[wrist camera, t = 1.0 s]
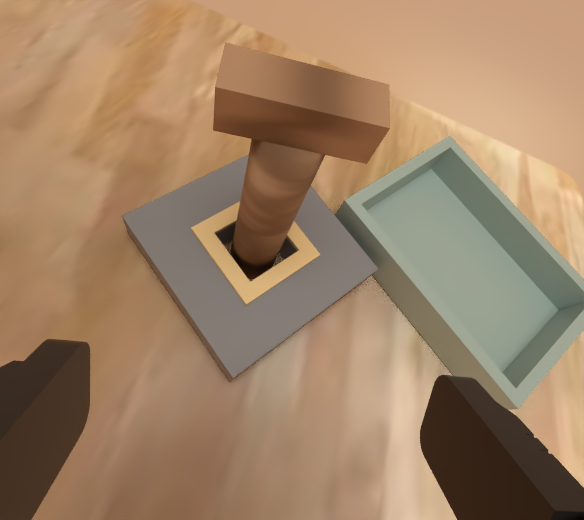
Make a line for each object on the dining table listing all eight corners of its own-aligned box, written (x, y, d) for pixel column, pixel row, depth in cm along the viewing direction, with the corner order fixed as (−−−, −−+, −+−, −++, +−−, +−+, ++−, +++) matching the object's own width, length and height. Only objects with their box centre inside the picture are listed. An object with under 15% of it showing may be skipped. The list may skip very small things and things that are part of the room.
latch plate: (128, 233, 31) (120, 213, 27) (269, 162, 36) (275, 138, 33) (229, 382, 28) (233, 377, 25) (364, 281, 34) (380, 267, 30)
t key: (205, 272, 31) (212, 98, 14) (213, 232, 32) (227, 32, 16) (291, 285, 32) (390, 140, 15) (294, 246, 33) (389, 74, 17)
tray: (329, 222, 35) (344, 200, 31) (427, 160, 41) (449, 135, 37) (481, 410, 31) (518, 409, 28) (566, 314, 37) (605, 302, 33)
